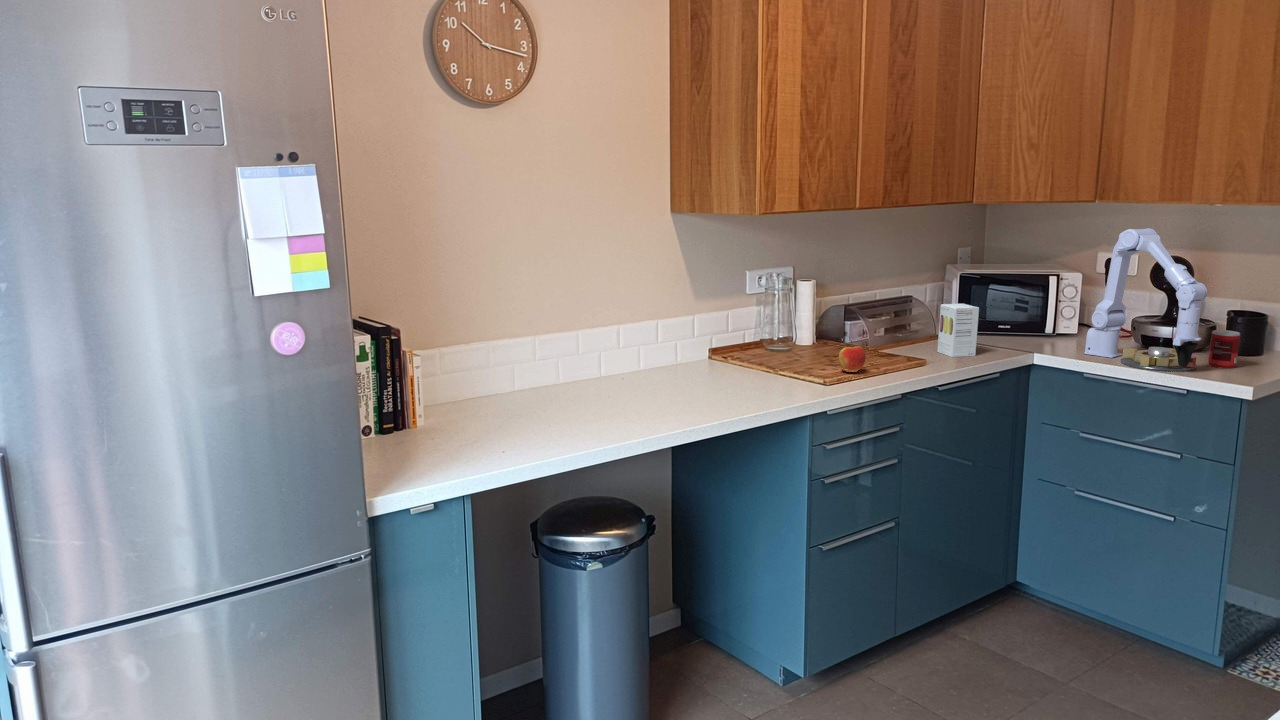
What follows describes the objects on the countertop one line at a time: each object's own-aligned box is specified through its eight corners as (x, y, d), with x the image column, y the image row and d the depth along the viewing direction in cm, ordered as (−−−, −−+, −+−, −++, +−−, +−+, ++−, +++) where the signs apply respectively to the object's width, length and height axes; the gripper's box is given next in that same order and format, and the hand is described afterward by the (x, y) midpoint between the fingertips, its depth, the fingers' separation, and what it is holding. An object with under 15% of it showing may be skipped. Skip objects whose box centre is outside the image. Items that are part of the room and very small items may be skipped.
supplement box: (936, 352, 315) (939, 303, 311) (959, 350, 317) (963, 302, 314) (952, 357, 306) (955, 307, 302) (976, 356, 308) (979, 306, 305)
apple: (845, 376, 279) (846, 344, 277) (833, 370, 286) (835, 339, 284) (869, 374, 280) (871, 342, 278) (857, 369, 288) (859, 338, 286)
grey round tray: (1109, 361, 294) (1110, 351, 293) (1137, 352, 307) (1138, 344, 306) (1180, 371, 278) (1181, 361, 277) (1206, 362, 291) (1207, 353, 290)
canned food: (1227, 363, 294) (1232, 330, 292) (1241, 368, 286) (1245, 334, 284) (1202, 363, 295) (1206, 329, 292) (1215, 368, 287) (1219, 334, 285)
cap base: (1109, 364, 294) (1111, 348, 293) (1139, 355, 308) (1141, 339, 307) (1180, 374, 278) (1182, 357, 277) (1208, 364, 292) (1210, 348, 291)
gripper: (1193, 326, 272) (1187, 370, 275) (1211, 321, 281) (1206, 364, 284) (1167, 323, 278) (1162, 367, 280) (1186, 318, 287) (1181, 360, 289)
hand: (1183, 365), depth 283 cm, fingers closed
